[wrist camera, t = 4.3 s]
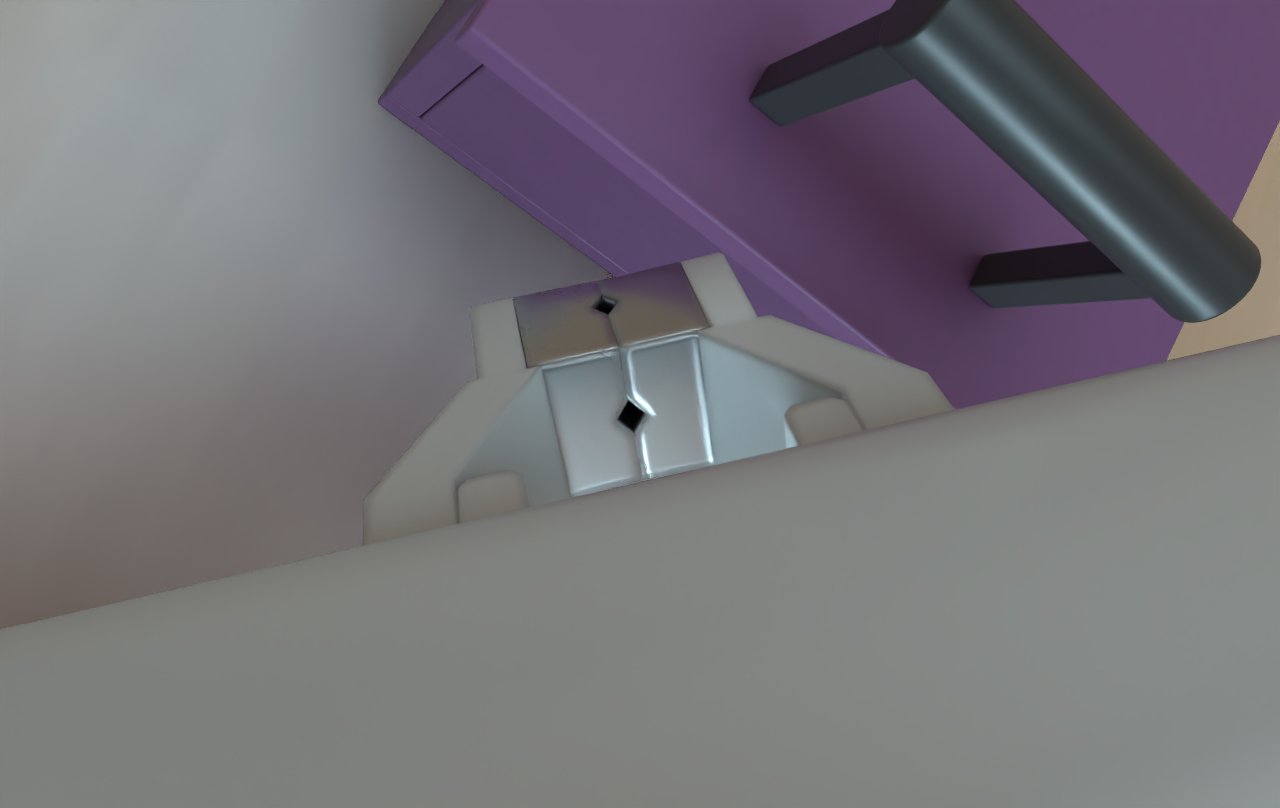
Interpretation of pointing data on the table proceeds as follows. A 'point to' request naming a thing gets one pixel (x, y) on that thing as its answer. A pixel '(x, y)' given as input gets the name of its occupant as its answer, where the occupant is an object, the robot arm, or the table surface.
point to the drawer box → (547, 164)
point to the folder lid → (934, 160)
